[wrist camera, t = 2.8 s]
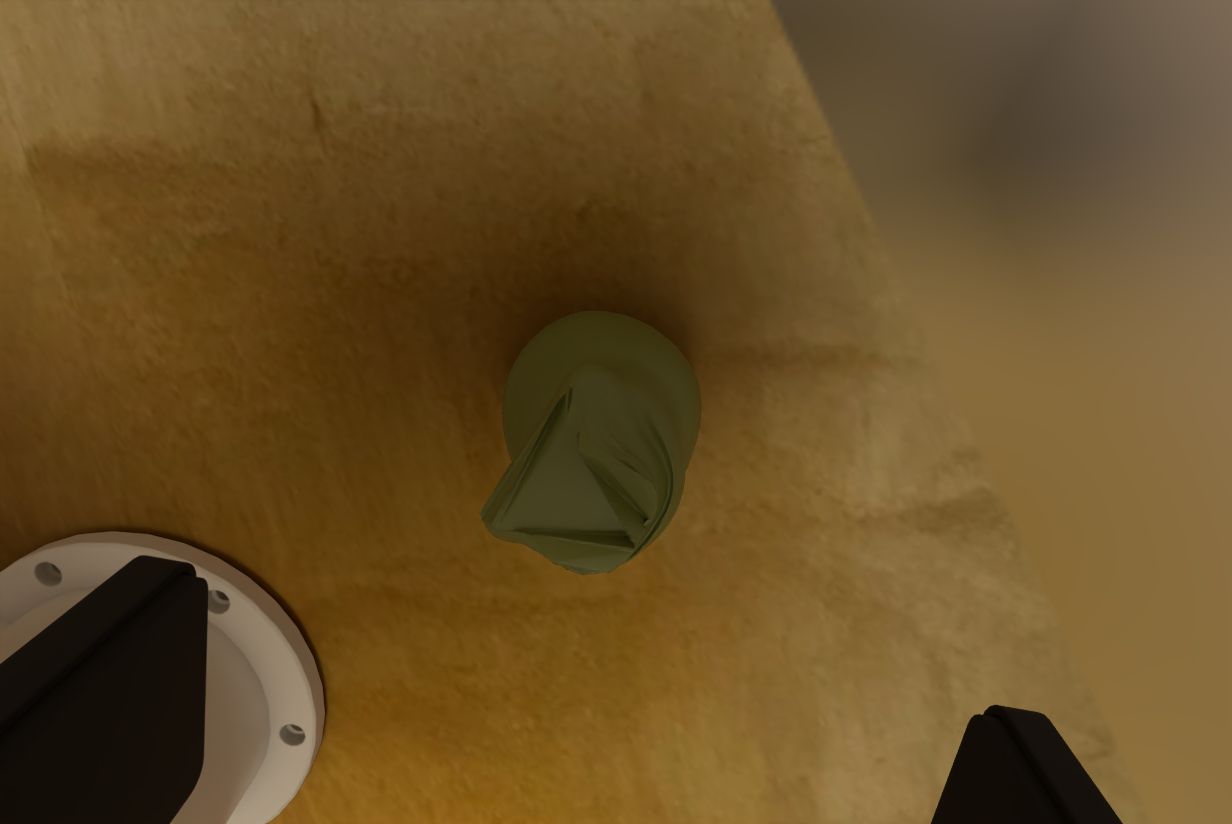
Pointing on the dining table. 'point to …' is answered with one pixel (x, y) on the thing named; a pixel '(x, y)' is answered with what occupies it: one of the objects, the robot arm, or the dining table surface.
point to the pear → (594, 441)
